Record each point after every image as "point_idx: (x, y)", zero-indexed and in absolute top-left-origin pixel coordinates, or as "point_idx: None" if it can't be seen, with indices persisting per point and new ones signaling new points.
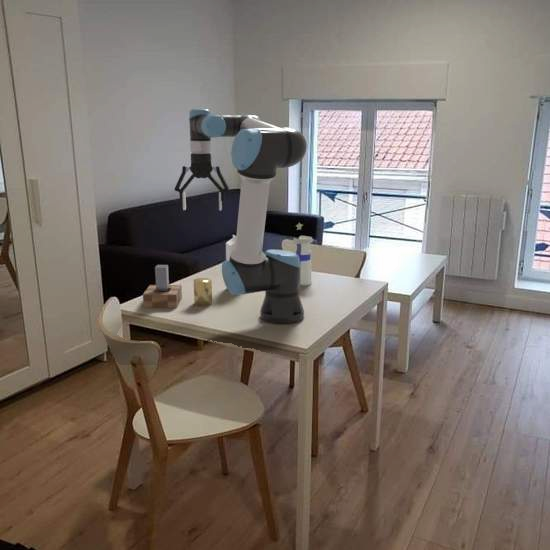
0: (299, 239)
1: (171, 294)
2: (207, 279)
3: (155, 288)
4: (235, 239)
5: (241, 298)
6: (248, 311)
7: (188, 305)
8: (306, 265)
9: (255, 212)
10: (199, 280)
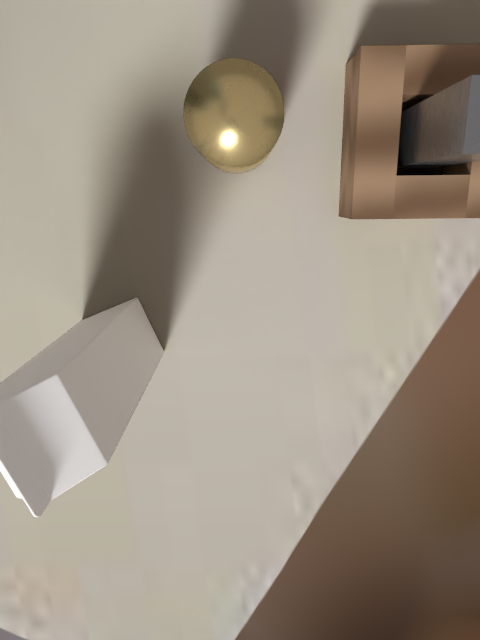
0: None
1: (385, 48)
2: (209, 134)
3: None
4: (17, 449)
5: (81, 212)
6: (21, 19)
7: (298, 103)
8: None
9: None
10: (250, 110)
